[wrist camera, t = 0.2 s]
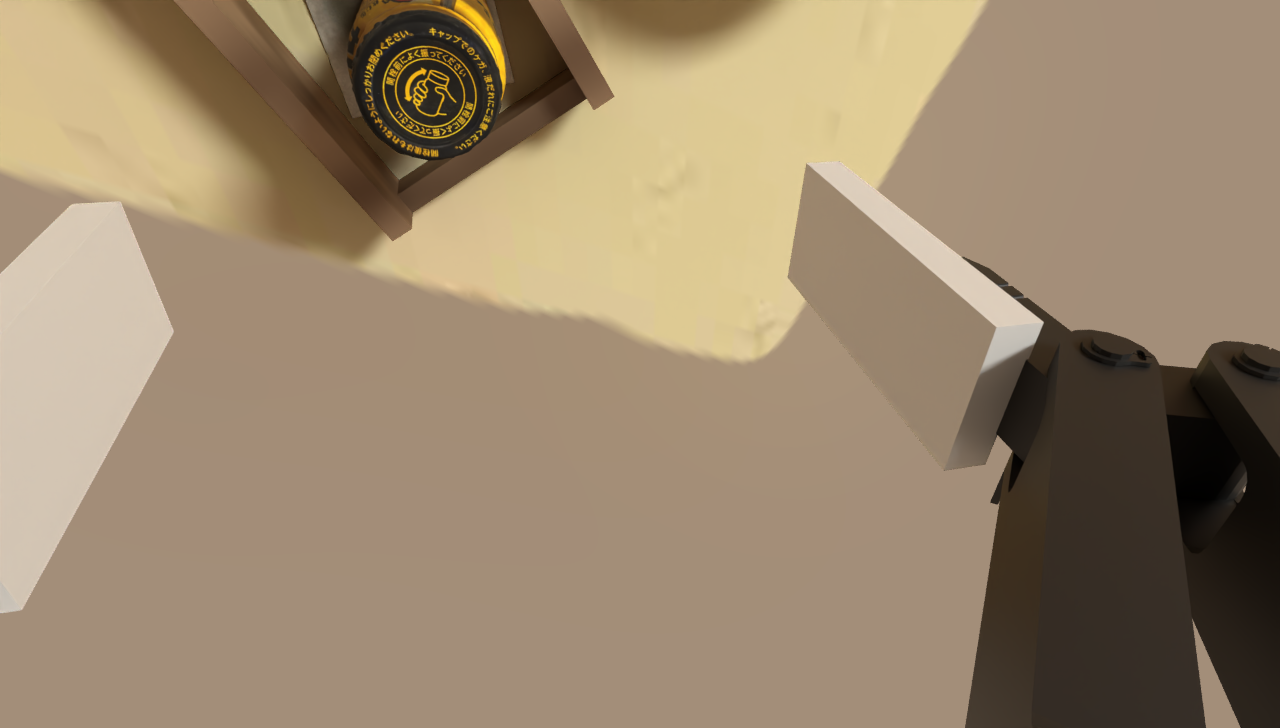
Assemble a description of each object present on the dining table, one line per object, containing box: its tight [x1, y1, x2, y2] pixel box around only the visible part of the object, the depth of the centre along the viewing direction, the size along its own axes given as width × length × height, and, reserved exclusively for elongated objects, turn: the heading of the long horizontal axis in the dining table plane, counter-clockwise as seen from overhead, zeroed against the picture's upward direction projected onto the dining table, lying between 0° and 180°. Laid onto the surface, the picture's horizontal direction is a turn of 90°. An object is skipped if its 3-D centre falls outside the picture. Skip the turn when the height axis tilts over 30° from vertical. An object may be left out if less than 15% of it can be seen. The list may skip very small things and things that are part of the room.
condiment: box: [306, 0, 514, 161], centre depth 30 cm, size 7×8×12 cm
